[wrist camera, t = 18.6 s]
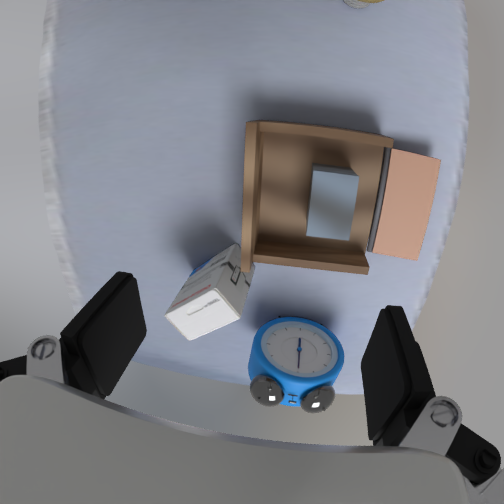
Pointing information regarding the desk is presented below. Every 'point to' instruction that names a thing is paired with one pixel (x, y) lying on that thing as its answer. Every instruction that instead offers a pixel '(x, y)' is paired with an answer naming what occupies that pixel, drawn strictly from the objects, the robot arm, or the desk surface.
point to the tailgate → (403, 203)
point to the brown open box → (304, 194)
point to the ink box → (211, 295)
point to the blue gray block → (331, 201)
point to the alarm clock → (295, 364)
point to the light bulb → (360, 3)
